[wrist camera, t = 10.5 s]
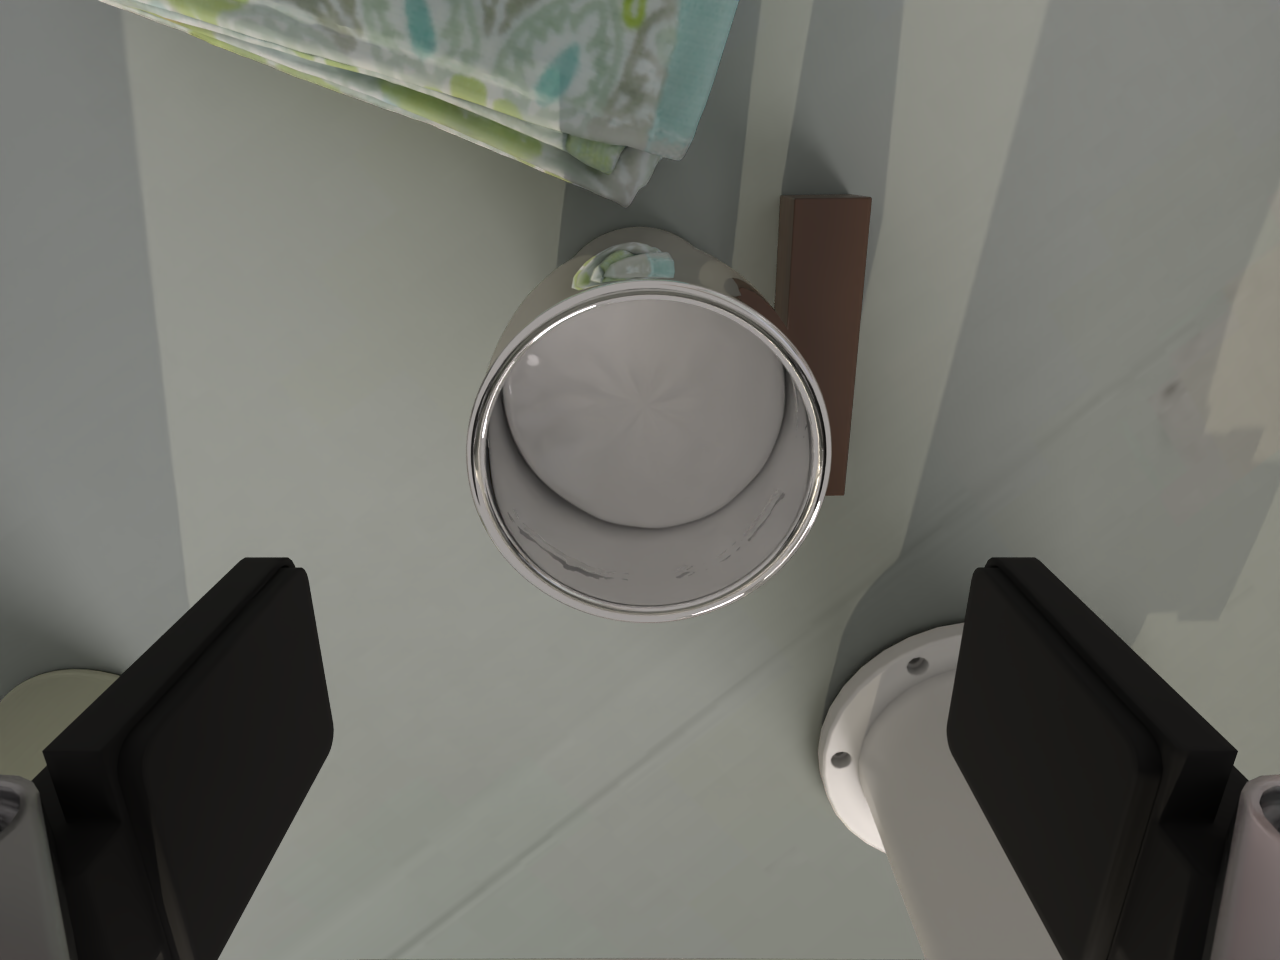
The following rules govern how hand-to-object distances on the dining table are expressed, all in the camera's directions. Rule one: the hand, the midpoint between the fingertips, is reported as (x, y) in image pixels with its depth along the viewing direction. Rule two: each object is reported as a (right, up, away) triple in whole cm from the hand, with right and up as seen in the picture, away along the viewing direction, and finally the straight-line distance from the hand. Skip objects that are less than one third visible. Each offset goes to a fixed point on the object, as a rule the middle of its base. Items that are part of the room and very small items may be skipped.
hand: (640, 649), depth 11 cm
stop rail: (+6, +7, +17) cm, 20 cm away
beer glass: (0, +8, +17) cm, 19 cm away
